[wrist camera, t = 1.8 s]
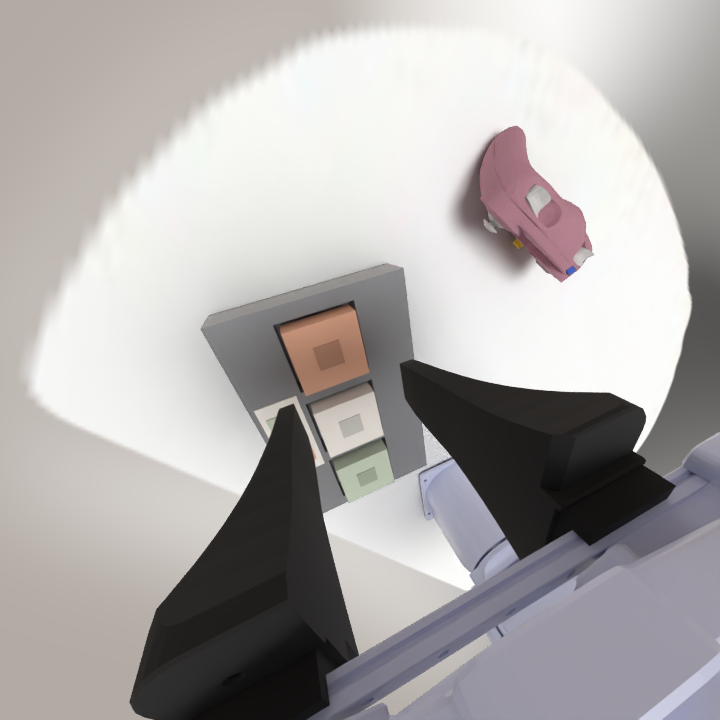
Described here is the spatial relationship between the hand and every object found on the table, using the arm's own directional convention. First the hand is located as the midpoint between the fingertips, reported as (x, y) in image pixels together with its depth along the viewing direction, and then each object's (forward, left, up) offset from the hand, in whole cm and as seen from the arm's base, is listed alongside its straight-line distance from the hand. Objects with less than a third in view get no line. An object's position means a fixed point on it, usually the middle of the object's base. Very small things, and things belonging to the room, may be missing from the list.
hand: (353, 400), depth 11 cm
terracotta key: (0, 0, -6) cm, 6 cm away
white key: (-6, 0, -6) cm, 9 cm away
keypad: (-6, 0, -8) cm, 10 cm away
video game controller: (+4, -16, -9) cm, 19 cm away
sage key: (-12, 0, -6) cm, 14 cm away
